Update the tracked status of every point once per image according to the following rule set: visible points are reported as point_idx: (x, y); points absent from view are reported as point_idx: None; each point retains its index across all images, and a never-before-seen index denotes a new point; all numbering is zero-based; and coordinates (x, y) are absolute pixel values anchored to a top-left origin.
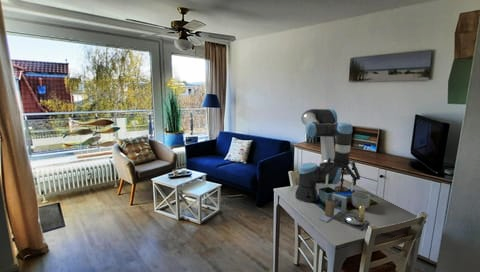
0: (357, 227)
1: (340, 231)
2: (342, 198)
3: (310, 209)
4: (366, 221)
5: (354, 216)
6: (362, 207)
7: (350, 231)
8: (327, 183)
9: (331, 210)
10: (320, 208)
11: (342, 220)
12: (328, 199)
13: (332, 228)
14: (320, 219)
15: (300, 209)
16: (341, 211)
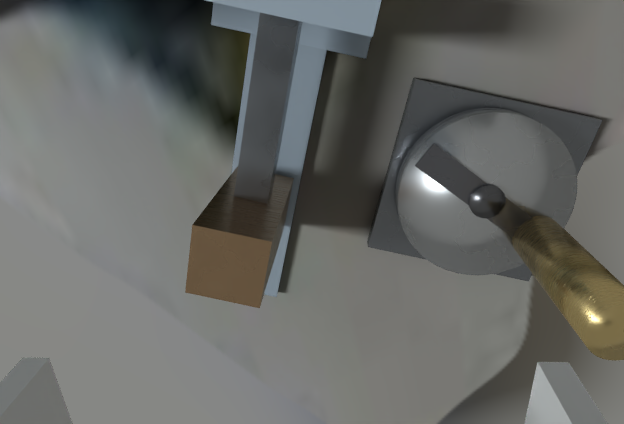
0: (502, 273)
1: (389, 351)
2: (330, 27)
3: (86, 157)
4: (583, 134)
5: (483, 189)
6: (619, 357)
7: (452, 321)
8: (40, 412)
9: (275, 255)
10: (145, 82)
11: (380, 227)
12: (199, 255)
13: (334, 343)
14: None
15: (25, 204)
16: (340, 48)
